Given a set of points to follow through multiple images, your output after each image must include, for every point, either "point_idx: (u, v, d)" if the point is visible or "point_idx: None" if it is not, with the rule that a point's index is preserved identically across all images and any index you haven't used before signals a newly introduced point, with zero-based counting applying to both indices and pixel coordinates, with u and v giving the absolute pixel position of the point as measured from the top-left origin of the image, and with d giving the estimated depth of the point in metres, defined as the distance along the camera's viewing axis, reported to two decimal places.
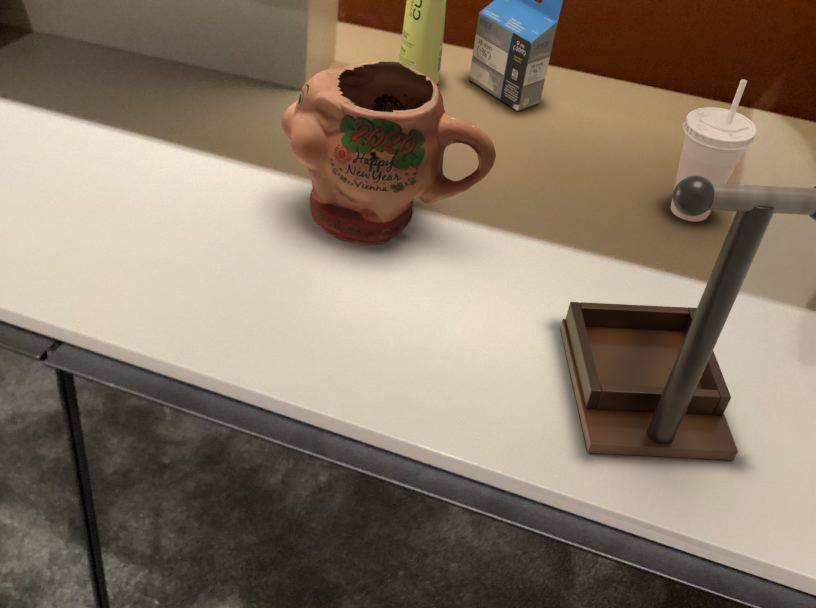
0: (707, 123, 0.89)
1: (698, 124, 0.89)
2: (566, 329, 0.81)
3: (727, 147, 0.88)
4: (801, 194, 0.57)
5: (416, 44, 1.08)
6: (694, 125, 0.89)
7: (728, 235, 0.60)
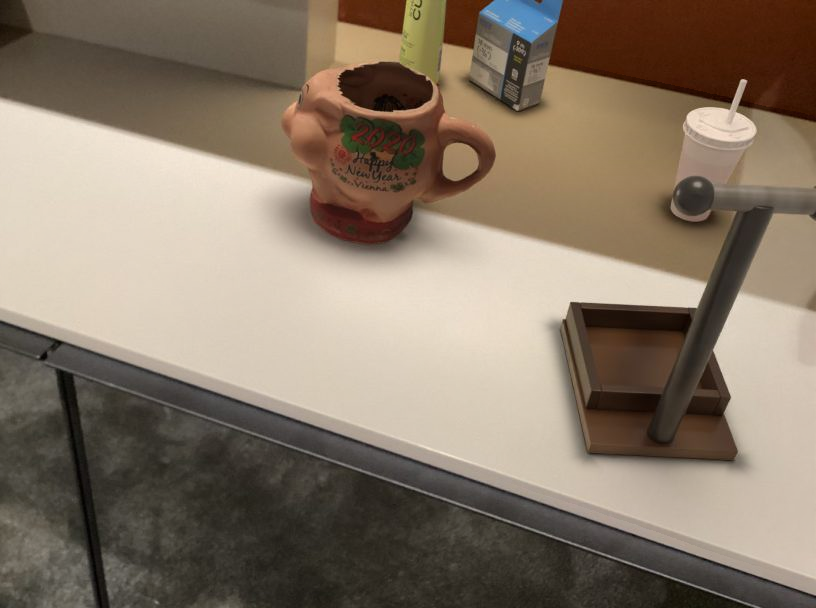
0: (707, 123, 0.89)
1: (698, 124, 0.89)
2: (566, 329, 0.81)
3: (727, 147, 0.88)
4: (801, 194, 0.57)
5: (416, 44, 1.08)
6: (694, 125, 0.89)
7: (728, 235, 0.60)
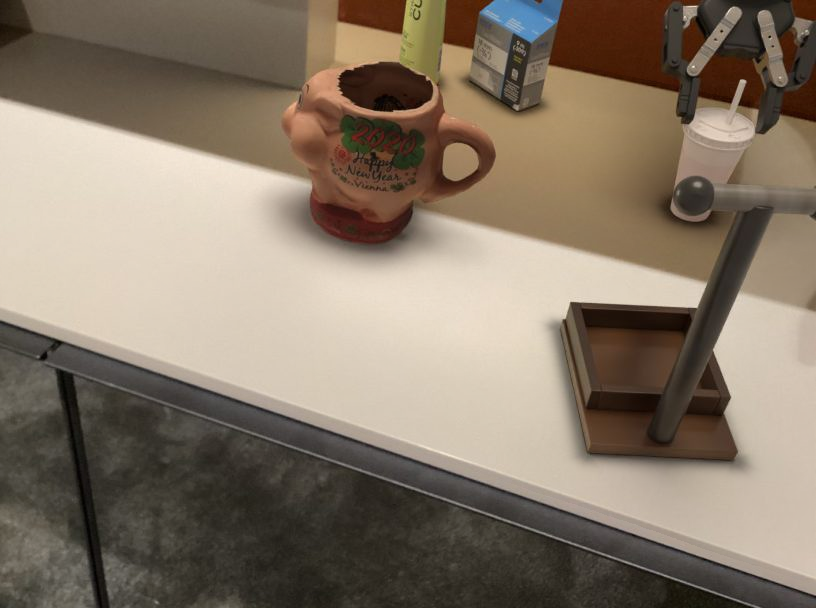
0: (706, 123, 0.89)
1: (697, 125, 0.89)
2: (566, 329, 0.81)
3: (726, 147, 0.88)
4: (801, 194, 0.57)
5: (416, 44, 1.08)
6: (693, 125, 0.89)
7: (728, 235, 0.60)
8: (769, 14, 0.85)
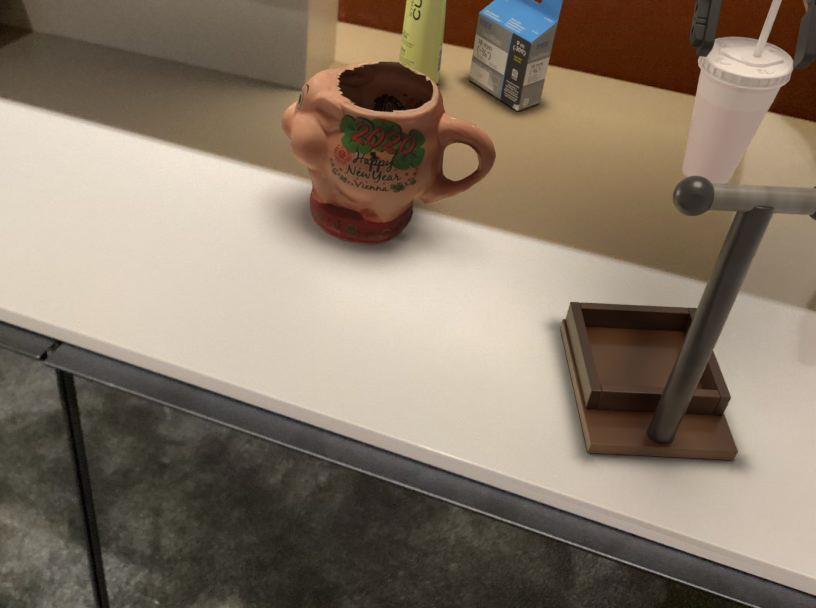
0: (729, 56, 0.69)
1: (717, 57, 0.69)
2: (566, 329, 0.81)
3: (756, 86, 0.67)
4: (801, 194, 0.57)
5: (416, 44, 1.08)
6: (712, 58, 0.68)
7: (728, 235, 0.60)
8: None
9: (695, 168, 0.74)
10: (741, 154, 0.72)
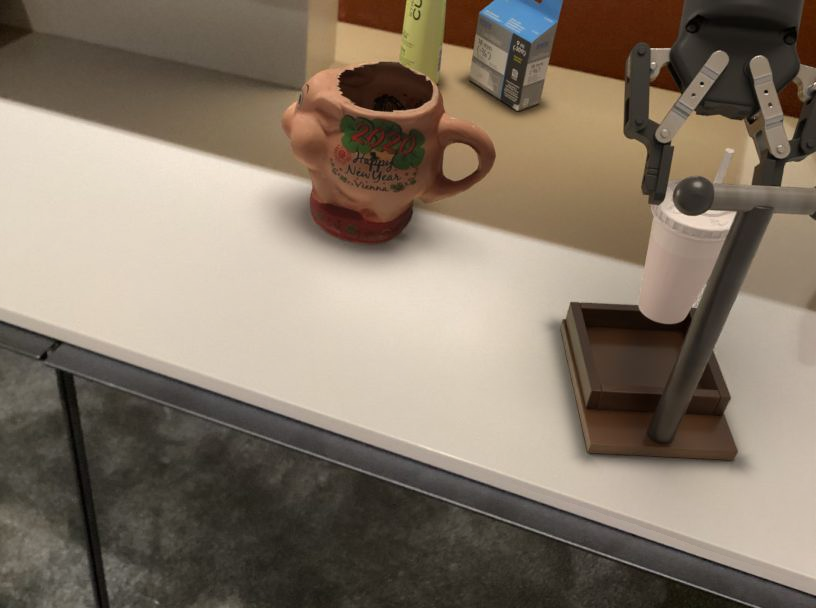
0: None
1: (670, 205, 0.67)
2: (566, 329, 0.81)
3: (708, 237, 0.66)
4: (801, 194, 0.57)
5: (416, 44, 1.08)
6: (665, 206, 0.67)
7: (728, 235, 0.60)
8: (765, 61, 0.64)
9: (650, 307, 0.73)
10: (696, 295, 0.71)
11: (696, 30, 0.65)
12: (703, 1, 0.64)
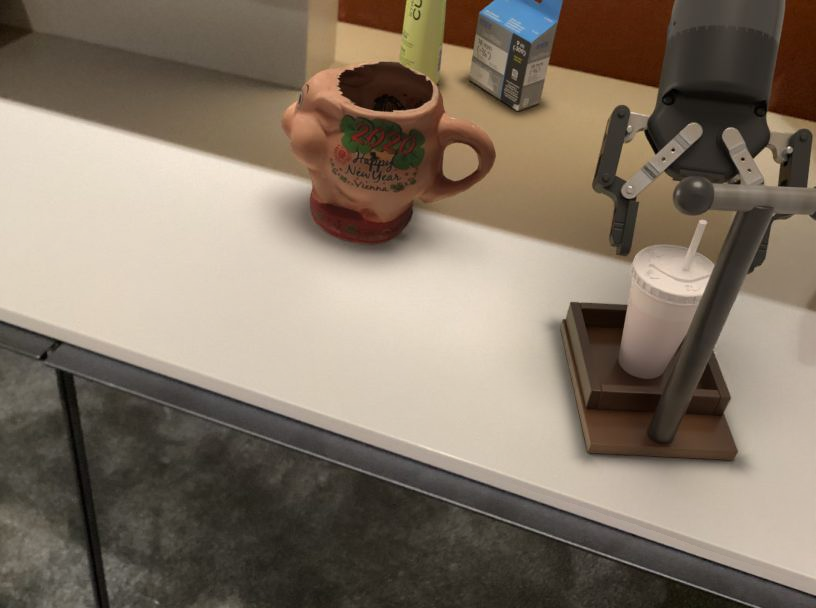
0: (659, 269, 0.71)
1: (648, 270, 0.71)
2: (566, 329, 0.81)
3: (682, 302, 0.70)
4: (801, 194, 0.57)
5: (416, 44, 1.08)
6: (642, 271, 0.71)
7: (728, 235, 0.60)
8: (736, 132, 0.67)
9: (629, 363, 0.77)
10: (673, 353, 0.75)
11: (672, 102, 0.69)
12: (678, 76, 0.68)
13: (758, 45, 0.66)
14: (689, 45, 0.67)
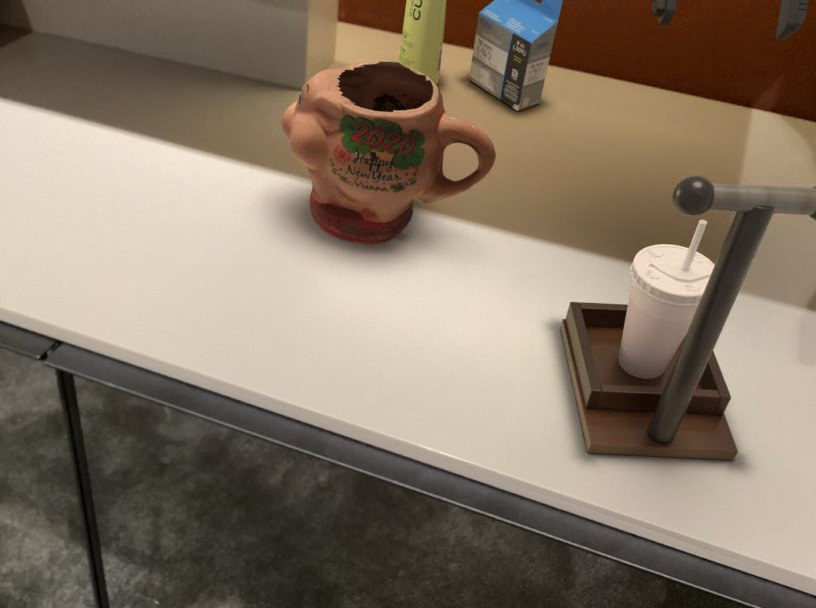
0: (659, 269, 0.71)
1: (648, 270, 0.71)
2: (566, 329, 0.81)
3: (683, 302, 0.70)
4: (801, 194, 0.57)
5: (416, 44, 1.08)
6: (643, 271, 0.71)
7: (728, 235, 0.60)
8: None
9: (629, 363, 0.77)
10: (673, 353, 0.75)
11: None
12: None
13: None
14: None
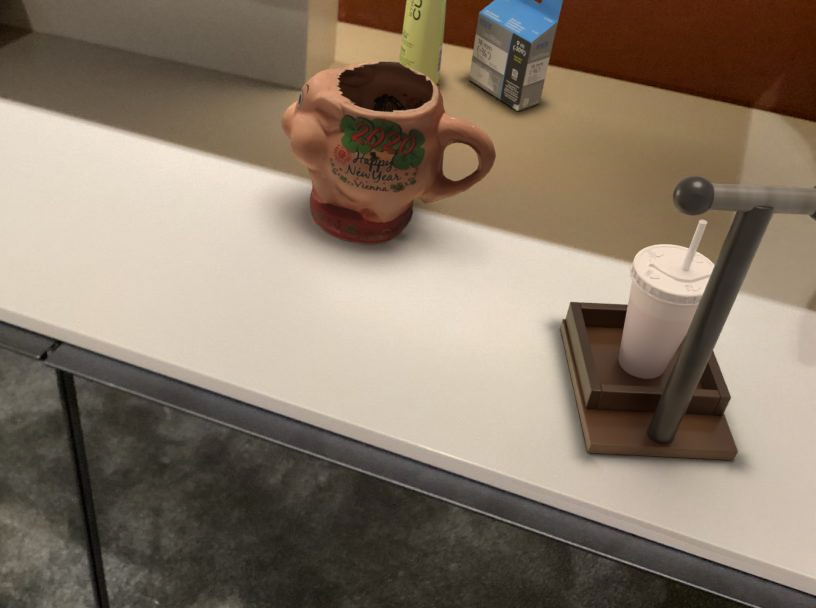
0: (659, 269, 0.71)
1: (648, 270, 0.71)
2: (566, 329, 0.81)
3: (683, 302, 0.70)
4: (801, 194, 0.57)
5: (416, 44, 1.08)
6: (643, 271, 0.71)
7: (728, 235, 0.60)
8: None
9: (629, 363, 0.77)
10: (673, 353, 0.75)
11: None
12: None
13: None
14: None
